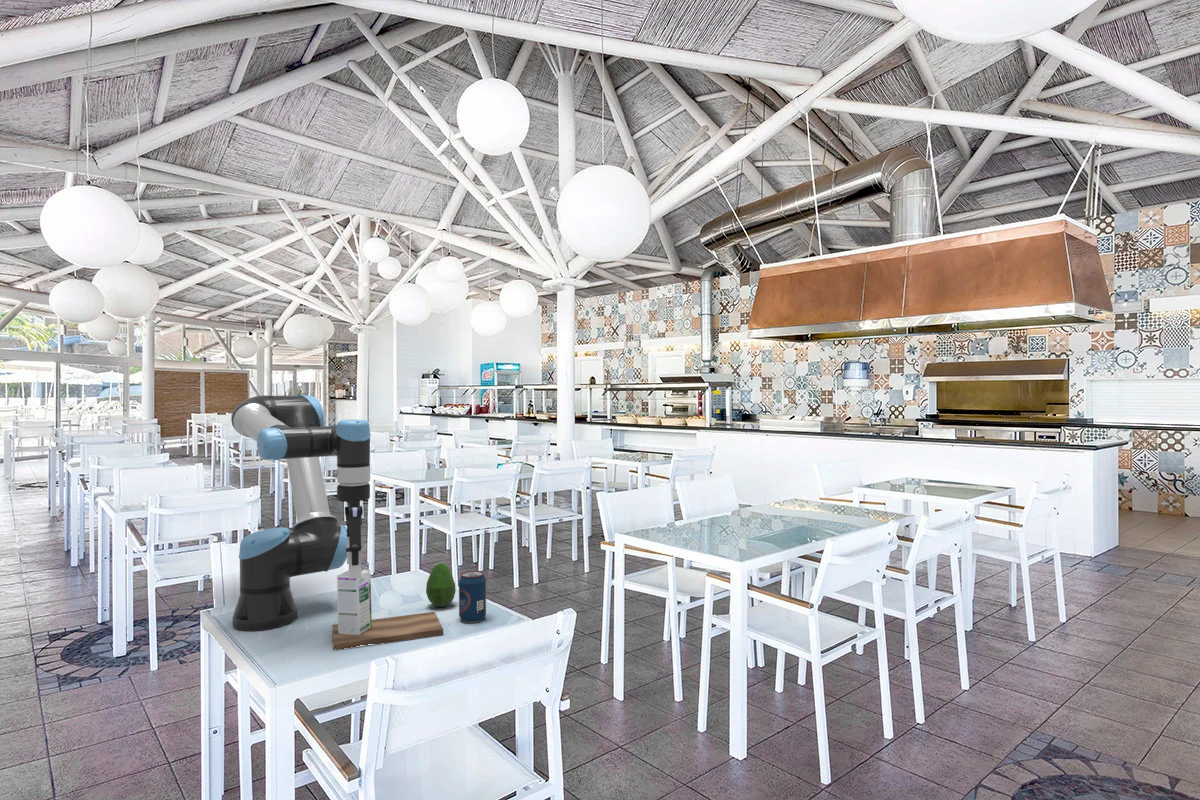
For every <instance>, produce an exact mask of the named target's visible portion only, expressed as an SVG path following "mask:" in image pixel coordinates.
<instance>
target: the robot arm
mask: <svg viewBox="0 0 1200 800" xmlns="http://www.w3.org/2000/svg"><path fill="white" fill-rule="evenodd" d="M231 413H232V414H231V418H230V422H231V425H232V427H233V429H234V430H235V432H237V433H238V434H240V435H241V436H242V437H246V438H249V439H250V438H251V439H252V440H254V441H255V442H256V448H257V453H258V456H259V458H260V459H261V460H264V461H265V460H267V461H271V460H272V461H280V460H286V464H287V469H288V475H289V476H288V477H289V481H290V488H291V493H292V498H293V505H294V510H295V517H296V523H295V524H294V525H293V526H292V531H290V529H289V528H288V527H282V526H281V527H279V526H278V527H271V528H267V529H262V530H258V531H255V532H252V533H249V534H248V535H246V536H244V537H243V538H242V540H241V541H240V543H239V553H238V559H239V595H238V600H237V602H236V607H235V609H234V611H233V614H232V628H233V629H236V630H239V631H244V632H247V631H249V632H252V631H253V632H254V631H255V632H256V631H265V630H271V629H275V628H279V627H284V626H286V625H288V624H291V623H293V622H295V620H297V619H298V607H297V603H296V601H295V598H294V595H293V593H292V591H291V581H290V580H291V578H293V577H298V576H305V575H310V574H311V575H312V574H317V573H321V572H326V573H327V572H329V571H332V570H336V569H340V568H342V567H343V565H344V564H345V563H346V565H348V570H349V579H356V578H361V569H362V548H363V547H362V529H361V527H362V526H361V525H362V524H363V523H362V522H363V519H362V518H363V513H364V510H363V505H360V502H362V501H363V502H364V501H367V500H370V499H371V485H370V483H369V482H370V481H371V430H370V429H371V427H370V422H369V421H368V420H366V419H341V420H339V421H338V422H337V424H331V425H328V426H325V424H326V423H325V411H324V409H323V406H322V404H321V402H320V400H319V399H318V398H317V397H315V396H313V395H303V394H297V395H255V396H252V397H249V398H246V399H245V400H243V401H241V402H240V403H238V405H236V406H235V408H234V409H233V411H232V412H231ZM321 457H336V467H337V468H336V470H334V472H333V473H334V475H337V477H336V480H337V481H336V482H337V483H338V484H337V487H336V500H337V501H339V502H344V503H346V506H345V507H344V516H345V522H346V526H345V525H342V524H339V522H338V518H337V516H334V515H333V514H331V511H330V508H329V507H330V506H329V502H328V501H329V500H328V497H327V496H328V495H327V492H326V486H325V481H324V477H323V471H322V466H321V461H320V458H321Z"/></svg>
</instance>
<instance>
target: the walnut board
mask: <svg viewBox="0 0 1200 800" xmlns="http://www.w3.org/2000/svg"><path fill="white" fill-rule="evenodd" d="M331 626H332V627H331V628H332V651H333V650H335V649H336V650H335V651H338V650H337V649H342V650H345V649H344V648H349V649H352V648H351V647H356V646H360V645H368V644H377V645H382V644H381V643H384V644H391V643H397V642H404V641H411V640H418V639H425V638H431V637H438V636H439V637H440V636H444V628H443V626H442V624H441V622H440V620H439V618H438V616H437V614H436V612H435V611H431V612H430V611H429V612H421V613H413V614H407V615H406V614H405V615H398V616H391V617H389V616H388V617H384V618H383V617H382V618H374V619H372V627H371V628H370V629H368V630H366V631H365V632H363V633H362V634H361V635H359V636H358V635H343V634H339V633H338V623H334V624H331ZM390 642H391V643H390ZM356 648H357V647H356Z"/></svg>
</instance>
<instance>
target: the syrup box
mask: <svg viewBox="0 0 1200 800" xmlns="http://www.w3.org/2000/svg"><path fill="white" fill-rule="evenodd" d="M371 577H372V575H371V569H366V568H361V578H356V579H349V569H348V570H346V571H344V572H342V573H340V574H337V575H336V593H337V594H336V596H337V598H336V599H337V601H336V602H337V624H338V633H339V634H343V635H358V636H359V635H361V634H362V633H363V632H365V631H366V630H368V629H370V628H371V627H372V620H373V619H372V592H371V591H372V584H371V583H372V578H371Z"/></svg>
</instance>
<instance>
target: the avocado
mask: <svg viewBox="0 0 1200 800" xmlns="http://www.w3.org/2000/svg"><path fill="white" fill-rule="evenodd" d="M454 579H455V578H454V577H453V574H452V573H451V571H450V569H449V567H448V566H447V564H445V563H444V562H439V563H437V564H435V565H434V566H433V567H432V569H431V572H430V573H429V576H428V579H427V581H426V588H425V589H426V590H425V593H426V596H427V599H428V601H429V602H430V603H431V604H432V605H433V606H435V607H440V608H441V607H442V608H444V607H446V606H448V605H450V604H451V603H452V602H453V600H454V598H455V595H456V590H457V589H456V582H455V580H454Z"/></svg>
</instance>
